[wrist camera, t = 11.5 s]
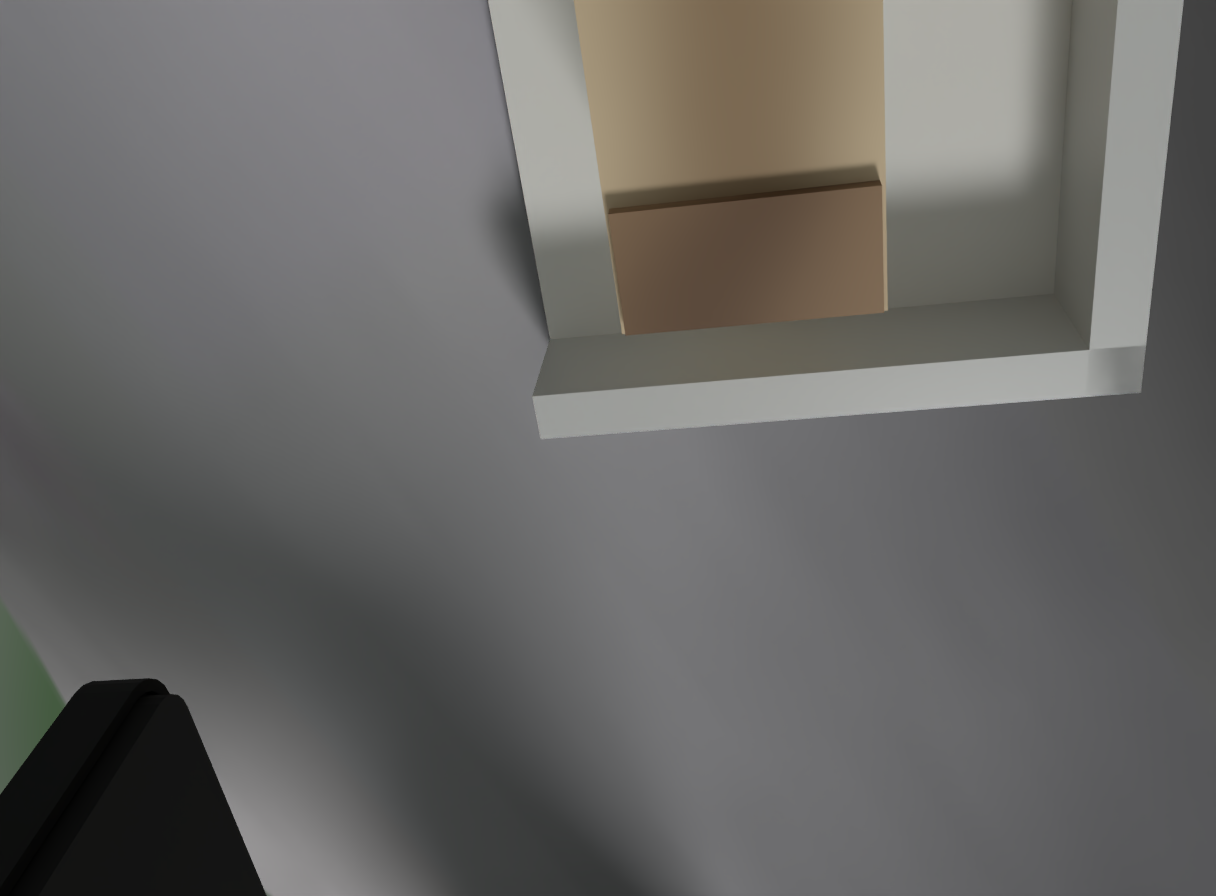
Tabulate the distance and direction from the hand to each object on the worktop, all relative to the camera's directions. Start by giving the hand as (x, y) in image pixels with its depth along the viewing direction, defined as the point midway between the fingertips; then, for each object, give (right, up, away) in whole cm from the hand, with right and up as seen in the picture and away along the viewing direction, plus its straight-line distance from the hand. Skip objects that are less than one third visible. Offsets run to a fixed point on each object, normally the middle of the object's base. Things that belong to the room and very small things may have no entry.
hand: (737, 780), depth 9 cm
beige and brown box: (+2, +13, +16) cm, 20 cm away
